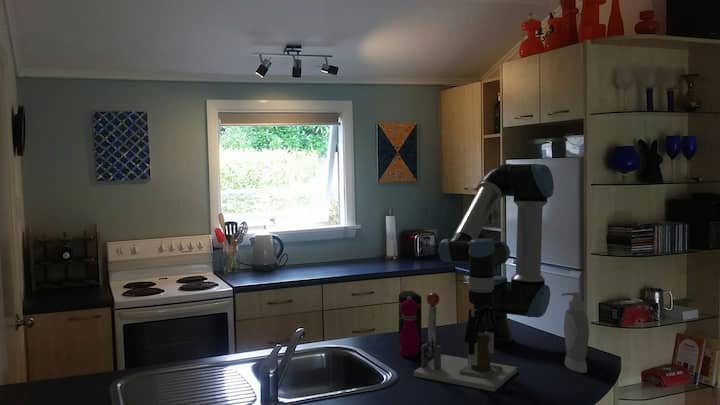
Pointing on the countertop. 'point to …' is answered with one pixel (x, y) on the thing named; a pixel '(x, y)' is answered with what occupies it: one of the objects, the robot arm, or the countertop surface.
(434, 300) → the press lever
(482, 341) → the cork
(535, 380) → the countertop surface
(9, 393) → the countertop surface
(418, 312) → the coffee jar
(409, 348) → the pepper mill
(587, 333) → the soap bottle
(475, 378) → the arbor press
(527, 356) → the countertop surface
